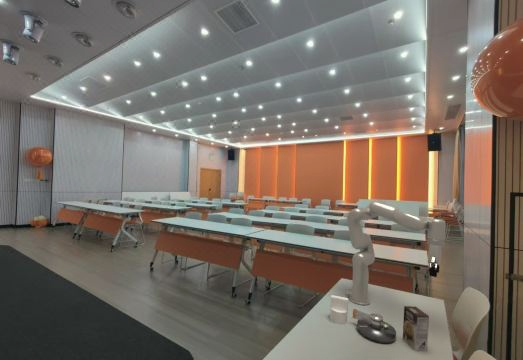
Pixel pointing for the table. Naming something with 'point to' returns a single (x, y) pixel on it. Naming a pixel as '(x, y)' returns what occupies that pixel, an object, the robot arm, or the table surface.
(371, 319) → the orange-tipped joystick
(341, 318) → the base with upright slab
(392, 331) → the dark round disc base
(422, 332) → the coffee box
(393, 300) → the table surface
